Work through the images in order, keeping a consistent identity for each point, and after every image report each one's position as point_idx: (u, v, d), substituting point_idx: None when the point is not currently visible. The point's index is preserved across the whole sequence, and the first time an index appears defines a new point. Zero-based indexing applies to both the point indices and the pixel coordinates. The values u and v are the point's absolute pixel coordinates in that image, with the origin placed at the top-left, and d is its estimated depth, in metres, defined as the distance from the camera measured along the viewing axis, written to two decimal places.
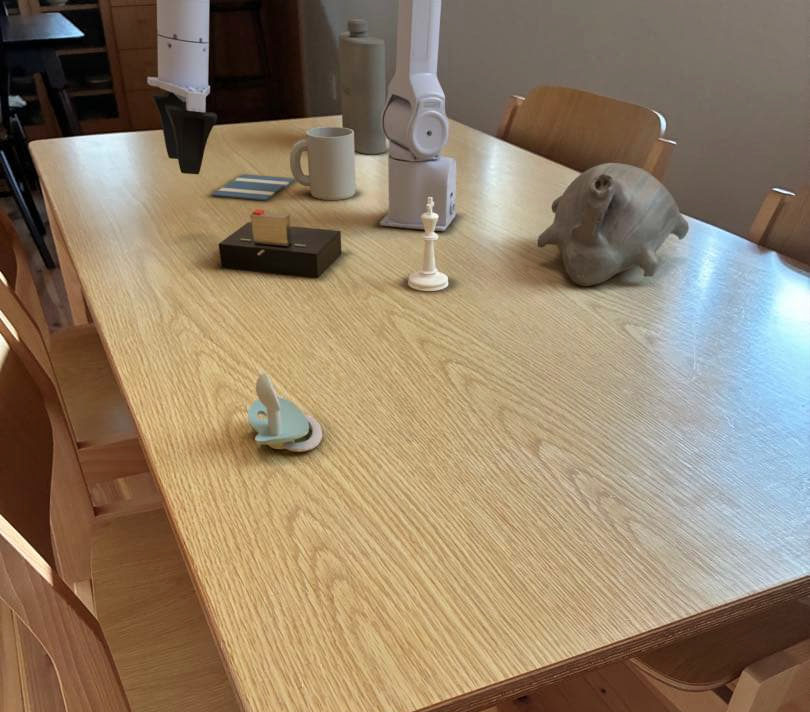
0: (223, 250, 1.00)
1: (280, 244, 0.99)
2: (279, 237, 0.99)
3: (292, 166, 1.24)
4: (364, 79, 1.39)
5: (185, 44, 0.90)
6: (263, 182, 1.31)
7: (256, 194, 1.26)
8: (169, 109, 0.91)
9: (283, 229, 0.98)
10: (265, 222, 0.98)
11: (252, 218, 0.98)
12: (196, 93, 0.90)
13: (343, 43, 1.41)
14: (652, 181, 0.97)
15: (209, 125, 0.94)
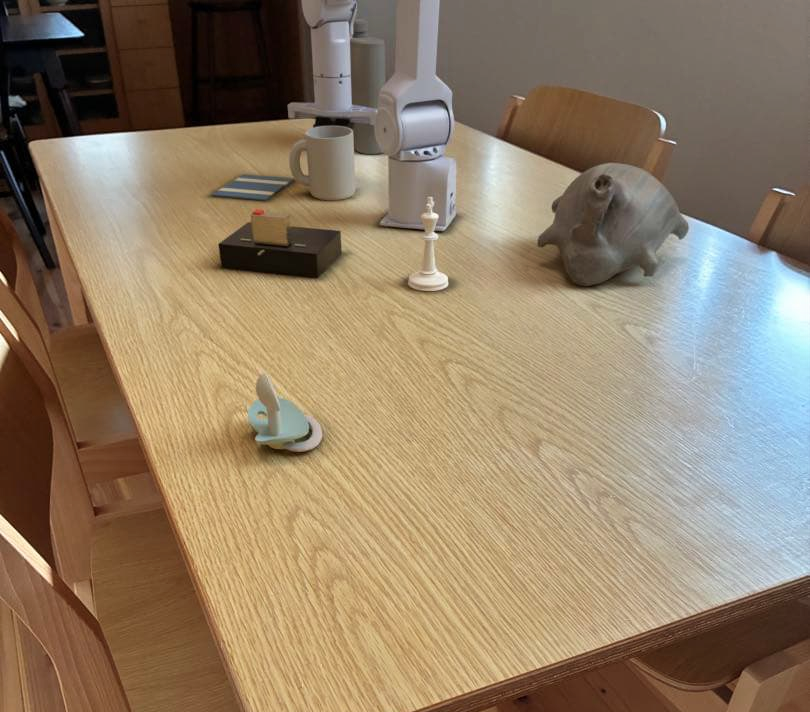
0: (223, 250, 1.00)
1: (280, 244, 0.99)
2: (279, 237, 0.99)
3: (292, 166, 1.24)
4: (363, 79, 1.39)
5: None
6: (263, 182, 1.31)
7: (256, 194, 1.26)
8: None
9: (283, 229, 0.98)
10: (265, 222, 0.98)
11: (252, 218, 0.98)
12: (290, 104, 1.26)
13: None
14: (652, 181, 0.97)
15: None
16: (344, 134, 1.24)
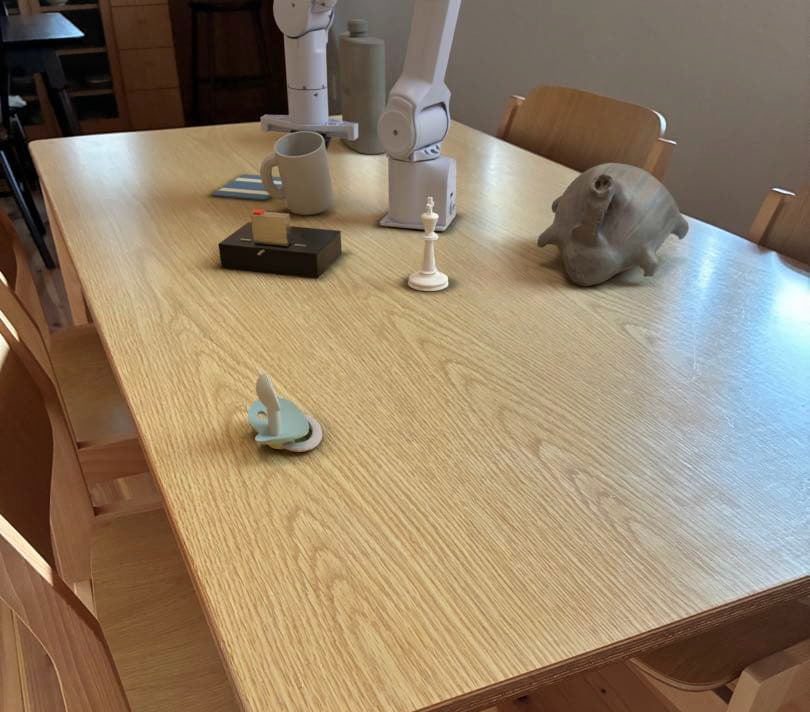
0: (223, 250, 1.00)
1: (280, 244, 0.99)
2: (279, 237, 0.99)
3: (264, 183, 1.17)
4: (363, 79, 1.39)
5: None
6: None
7: (256, 194, 1.26)
8: None
9: (283, 229, 0.98)
10: (265, 222, 0.98)
11: (252, 218, 0.98)
12: (263, 116, 1.19)
13: (343, 43, 1.41)
14: (652, 181, 0.97)
15: None
16: (315, 140, 1.16)
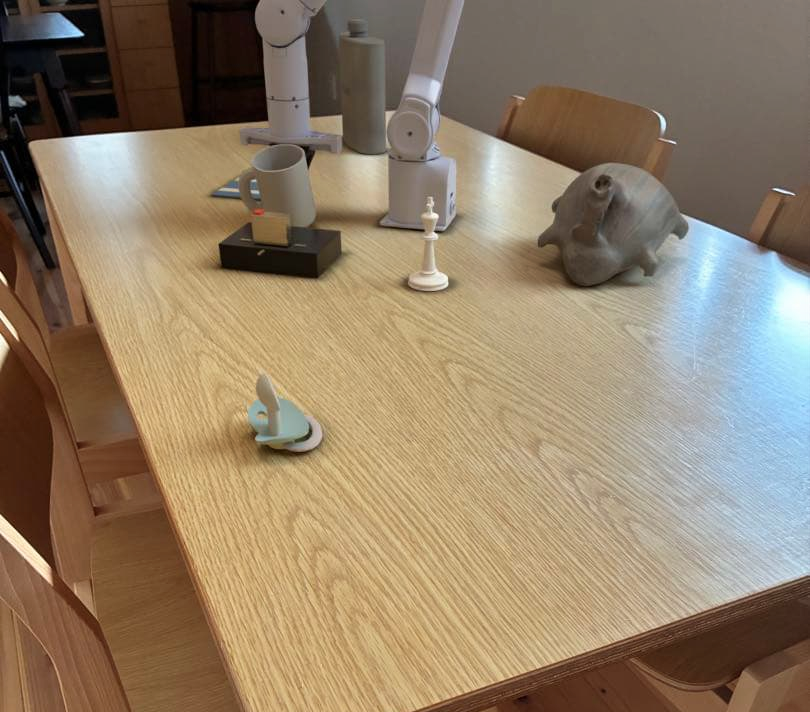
0: (223, 250, 1.00)
1: (280, 244, 0.99)
2: (279, 237, 0.99)
3: (242, 197, 1.11)
4: (363, 79, 1.39)
5: None
6: None
7: (256, 194, 1.26)
8: None
9: (283, 229, 0.98)
10: (265, 222, 0.98)
11: (252, 218, 0.98)
12: (242, 128, 1.13)
13: (343, 43, 1.41)
14: (652, 181, 0.97)
15: None
16: (297, 154, 1.10)
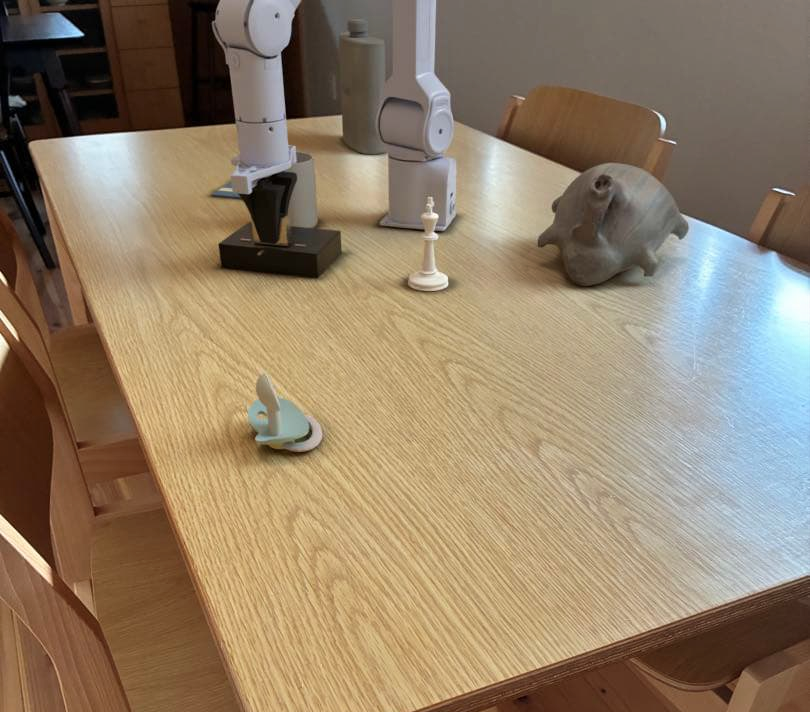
0: (223, 250, 1.00)
1: (280, 244, 0.99)
2: (279, 237, 0.99)
3: None
4: (363, 79, 1.39)
5: (247, 125, 0.89)
6: None
7: None
8: None
9: (283, 229, 0.98)
10: None
11: None
12: (238, 176, 0.89)
13: (343, 43, 1.41)
14: (652, 181, 0.97)
15: (272, 198, 0.94)
16: (306, 161, 1.12)
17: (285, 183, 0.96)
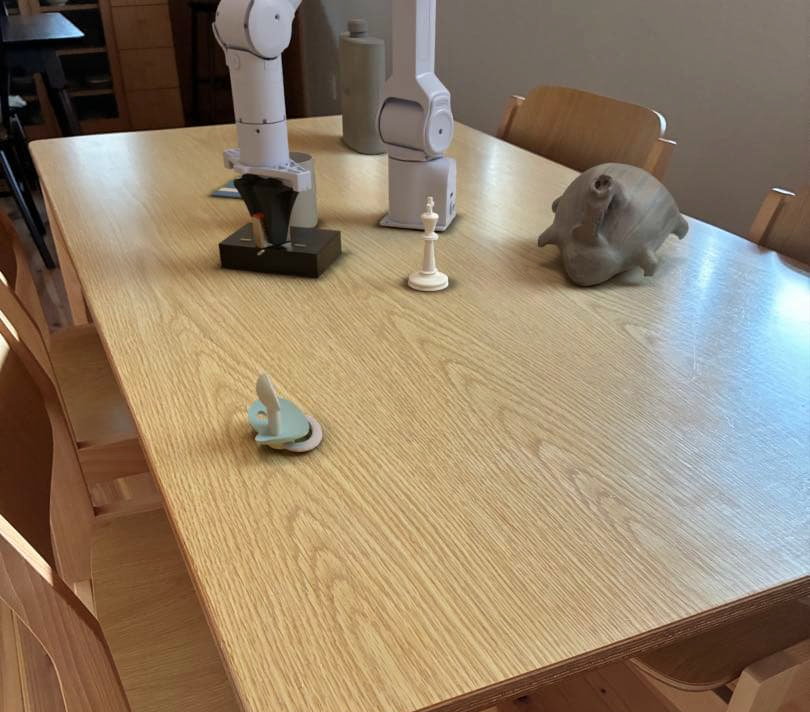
0: (223, 250, 1.00)
1: None
2: None
3: None
4: (363, 79, 1.39)
5: (273, 126, 0.90)
6: None
7: None
8: (263, 190, 0.92)
9: None
10: None
11: (260, 223, 0.97)
12: (303, 173, 0.90)
13: (343, 43, 1.41)
14: (652, 181, 0.97)
15: (296, 193, 0.96)
16: (306, 161, 1.12)
17: None
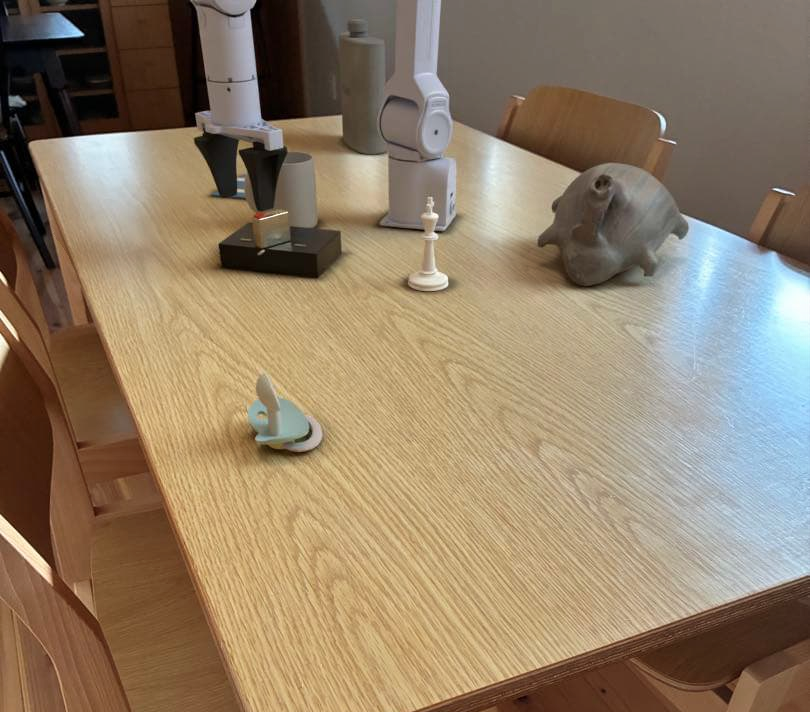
0: (223, 250, 1.00)
1: (285, 240, 1.00)
2: (284, 233, 1.00)
3: (246, 194, 1.12)
4: (363, 79, 1.39)
5: (244, 84, 0.90)
6: None
7: None
8: (249, 154, 0.91)
9: (287, 224, 0.99)
10: (272, 222, 0.98)
11: (260, 223, 0.97)
12: (274, 131, 0.90)
13: (343, 43, 1.41)
14: (652, 181, 0.97)
15: (282, 158, 0.94)
16: (306, 161, 1.12)
17: (235, 138, 0.99)
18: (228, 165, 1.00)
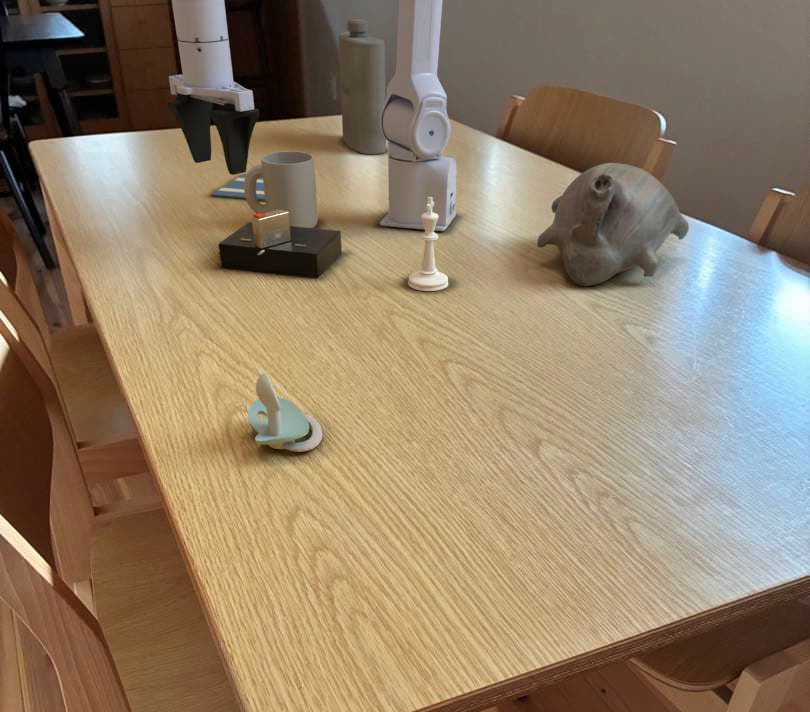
0: (223, 250, 1.00)
1: (285, 240, 1.00)
2: (284, 233, 1.00)
3: (246, 194, 1.12)
4: (363, 79, 1.39)
5: (215, 45, 0.90)
6: None
7: (256, 194, 1.26)
8: (219, 114, 0.91)
9: (287, 224, 0.99)
10: (271, 222, 0.98)
11: (260, 223, 0.97)
12: (245, 92, 0.90)
13: (343, 43, 1.41)
14: (652, 181, 0.97)
15: (254, 120, 0.94)
16: (306, 161, 1.12)
17: (208, 102, 0.99)
18: (202, 129, 1.00)
